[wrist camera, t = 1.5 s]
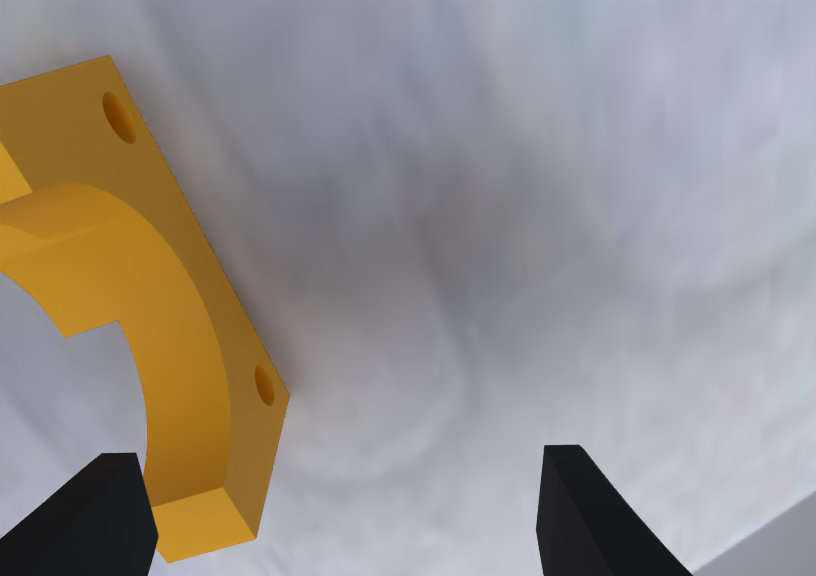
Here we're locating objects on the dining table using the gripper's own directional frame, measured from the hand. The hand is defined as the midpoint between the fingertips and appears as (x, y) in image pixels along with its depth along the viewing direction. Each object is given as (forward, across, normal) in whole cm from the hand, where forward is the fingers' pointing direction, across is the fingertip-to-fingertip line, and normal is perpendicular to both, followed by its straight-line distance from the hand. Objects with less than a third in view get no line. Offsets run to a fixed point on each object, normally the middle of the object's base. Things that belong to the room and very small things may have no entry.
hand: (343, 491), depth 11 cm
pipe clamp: (+10, +7, 0) cm, 12 cm away
